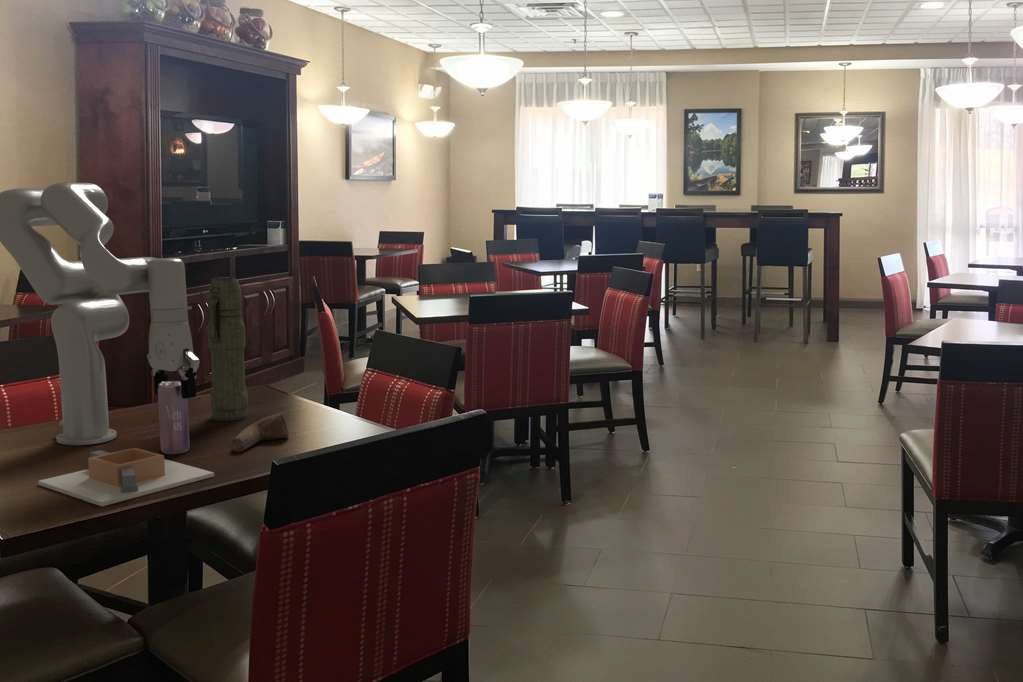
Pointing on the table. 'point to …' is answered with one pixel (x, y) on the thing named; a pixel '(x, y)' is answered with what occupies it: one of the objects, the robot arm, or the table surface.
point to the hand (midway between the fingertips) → (175, 395)
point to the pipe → (261, 432)
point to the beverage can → (173, 418)
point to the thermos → (227, 350)
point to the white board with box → (124, 476)
